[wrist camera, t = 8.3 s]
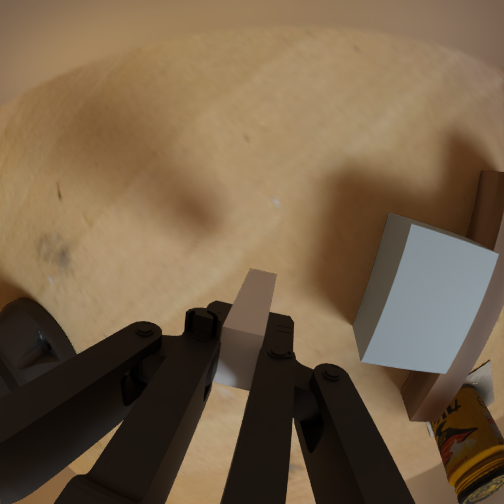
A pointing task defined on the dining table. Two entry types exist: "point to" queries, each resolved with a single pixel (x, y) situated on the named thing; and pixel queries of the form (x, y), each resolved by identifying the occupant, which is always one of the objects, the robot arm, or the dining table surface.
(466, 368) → the board
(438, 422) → the condiment
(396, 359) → the block
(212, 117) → the dining table surface
